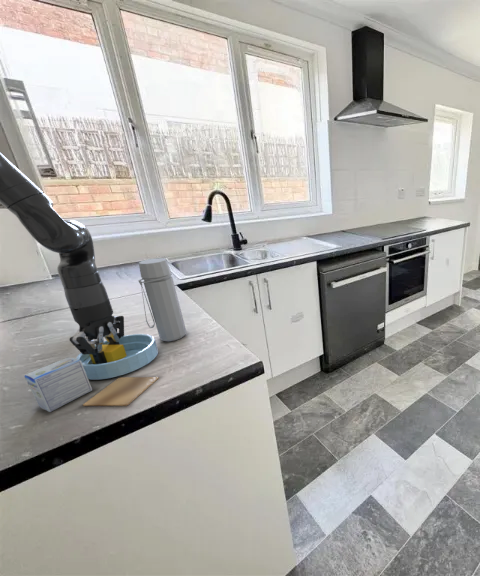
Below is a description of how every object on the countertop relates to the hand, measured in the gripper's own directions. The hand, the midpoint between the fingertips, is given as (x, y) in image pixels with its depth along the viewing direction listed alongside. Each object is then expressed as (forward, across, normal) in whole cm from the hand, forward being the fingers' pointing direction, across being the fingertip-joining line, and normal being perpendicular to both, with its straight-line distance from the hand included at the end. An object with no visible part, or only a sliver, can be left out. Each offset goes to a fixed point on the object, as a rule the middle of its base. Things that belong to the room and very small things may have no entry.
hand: (109, 359), depth 84 cm
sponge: (0, 0, 0) cm, 0 cm away
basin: (+1, 0, +3) cm, 3 cm away
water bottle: (+2, -14, +7) cm, 16 cm away
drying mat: (+1, +12, +13) cm, 18 cm away
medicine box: (+2, +14, +2) cm, 15 cm away
